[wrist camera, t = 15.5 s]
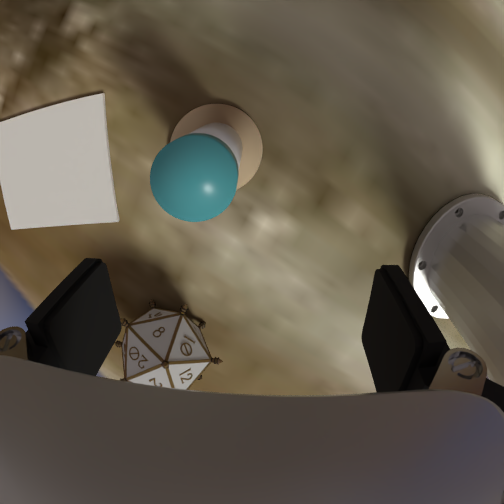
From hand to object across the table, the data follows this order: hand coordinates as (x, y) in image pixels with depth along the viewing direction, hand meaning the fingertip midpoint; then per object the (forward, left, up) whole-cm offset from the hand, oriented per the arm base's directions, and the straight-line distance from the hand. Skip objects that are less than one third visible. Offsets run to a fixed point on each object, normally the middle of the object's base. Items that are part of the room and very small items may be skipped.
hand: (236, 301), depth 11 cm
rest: (+2, -3, -14) cm, 14 cm away
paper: (+16, -3, -14) cm, 21 cm away
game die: (+7, +12, -14) cm, 20 cm away
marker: (+2, -3, -13) cm, 14 cm away
